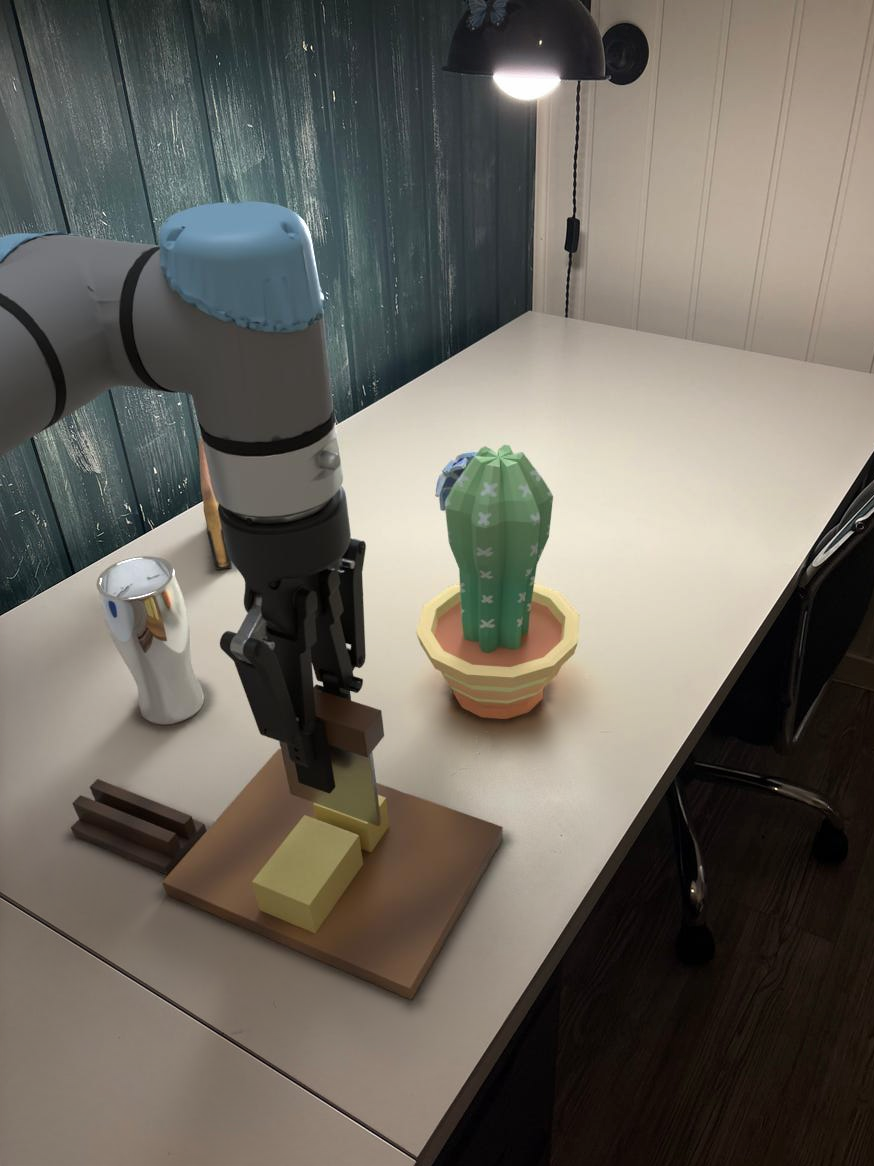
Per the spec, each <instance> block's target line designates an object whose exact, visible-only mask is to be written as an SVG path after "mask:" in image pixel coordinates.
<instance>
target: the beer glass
mask: <svg viewBox="0 0 874 1166" xmlns="http://www.w3.org/2000/svg"><path fill="white" fill-rule="evenodd" d="M96 588H97V591H98V596H99V600H100V604H101V605H100V606H101V609H102V614H103V617H104V621H105V625H106V627H107V631H108V633H109V635H110V639H111V640H112V642H113V643H114V646H115V648H116V650H117V652H118V654H119V655H120V657H121V659H122V660H123V662H124V664H125V665H126V667H127V668H128V671H129V673H130V674H131V676H132V677H133V679H134V681H135V684H136V688H137V693H138V706H139V711H140V714H141V715H142V717H143V718H144V720H146V721H148V722H149V723H151V724H155V725H174V724H178V723H182V722H184V721H186V720H189V719H190V718H192V717H193V716H194V715H195V714H197V713H198V712H199V711H200V710H201V709H202V707H203V706H204V702H205V692H204V689H203V687H202V686H201V684H200V682H199V680H198V678H197V677H196V674H195V671H194V669H193V663H192V647H191V627H190V618H189V614H188V609H187V604H186V601H185V598H184V594H183V591H182V589H181V585H180V583H179V580H178V579H177V575H176V573H175V569H174V566H173V565H172V564H171V563H170V562H169V561H168V560H166V559H163V558H161V557H157V556H135V557H131V558H127V559H123V560H121V561H118V562H115V563H114V564H112V565H110V566H108V567H107V568H106V569H105V570H104V571H102V572H101V574H100V575H99V576H98V578H97V580H96Z"/></svg>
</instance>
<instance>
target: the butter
mask: <svg viewBox="0 0 874 1166" xmlns="http://www.w3.org/2000/svg"><path fill="white" fill-rule="evenodd" d="M362 865H363V859H362V852H361V845H360V839H359V835H356V834H354V833H351V832H348V831H346V830H343V829H340V828H338V827H335V826H332V825H330V824H327V823H324V822H322V821H319V820H316V819H314V818H311V817H308V816H306V815H304V816H303V818H302V819H301V820H300V821H299V823H298V824H297V825H296V826H295V828H294V829H293V830H292V831H291V833H290V834H289V835H288V837H287V838H286V839H285V840H284V842H283V843H282V844H281V845H280V847H279V848H278V849H277V851H276V852H275V853H274V854H273V856H272V857H271V858H270V859H269V861H268V862H267V863H266V864H265V866H264V867H263V868H262V870H261V871H260V872H259V873H258V875H257V876H256V877H255V878H254V880H253V881H252V884H253V887H254V891H255V895H256V899H257V902H258V906H259V910H260V911H263V912H265V913H268V914H270V915H272V916H275V917H277V918H279V919H282V920H284V921H286V922H289V923H291V924H294V925H296V926H298V927H301V928H303V929H305V930H308V931H310V932H312V933H316V932H317V930H318V929H319V927H320V926H321V924H322V923H323V922H324V920H325V919H326V917H327V916H328V914H329V913H330V911H331V910H332V909H333V907H334V906H335V904H336V903H337V901H338V900H339V898H340V897H341V895H342V894H343V893H344V891H345V890H346V888H347V887H348V885H349V884H350V882H351V881H352V880H353V878H354V877H355V875H356V874H357V872H358V871H359V869H360V868H361V867H362Z"/></svg>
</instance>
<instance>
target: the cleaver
mask: <svg viewBox="0 0 874 1166" xmlns="http://www.w3.org/2000/svg"><path fill="white" fill-rule="evenodd" d="M314 699H315V712H316V720H319V721H322V722H325V727H326V733H327V739H328V745H329V750H330V756H331V762H332V768H333V774H334V780H335V786H336V787H335V788H334V790H333V791H332V792H331V793H330V794H329V793H326V792H323V791H321V790H318V789H315V788H312V787H309V786H307V785H304V784H301V783H299V781H298V777H297V772H296V767H295V762H292V761H291V759H290V757H289V752H288V747H287V743H283V742H281V741H278V742H279V746H280V749H281V752H282V756H283V761H284V766H285V771H286V775H287V780H288V785H289V789H290V794H292V795H294V796H297V797H300V798H303V799H305V800H308V801H311V802H313V803H316V804H319V805H322V806H324V807H327V808H330V809H333V810H335V811H338V812H341V813H344V814H346V815H349V816H352V817H355V818H357V819H360V820H363V821H366V822H368V823H371V824H374V825H377V826H380V824H381V816H380V808H379V801H378V793H377V785H376V783H377V779H376V777H377V776H376V771H375V769H376V768H375V763H374V755H373V751H374V750H375V749H376V748H377V746H378V744H380V742H381V741H382V740H383V738H384V737H385V730H384V720H383V714H382V710H381V709H379V708H376V707H372V706H369V705H368V704H367V705H366V704H363V703H360V702H357V701H354V700H352V699H351V700H348V699H344V698H341V697H338V696H335V695H332V694H329V693H325V692H322V691H319V690H316V689H314Z"/></svg>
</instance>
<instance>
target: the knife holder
mask: <svg viewBox="0 0 874 1166" xmlns="http://www.w3.org/2000/svg"><path fill="white" fill-rule="evenodd" d="M89 789H90V791H91V793H92V797H93V799H92V798H90V797H87V796H85V795H82V794H80V795H79V796H77V798H76V799H75V800H73V802H71V803H72V806H73V808H74V811H75V813H76V815H77V818H78V819H77V820H76V821H75V822H74V823H73V824H72V826H70V830H71V832H72V834H73V836H74V837H78V838H80V839H82V840H85V841H87V842H89V843H92V844H94V845H96V846H99V847H101V848H104V849H106V850H108V851H109V852H112V853H115V854H118V855H119V856H122V857H125V858H127V859H130V860H131V861H133V862H137V863H139V864H141V865H143V866H146V867H149V868H151V869H153V870H156V871H157V872H160V873H163V874H165V875H166V876H168V875H169V874H170V872H171V871H172V870H173V869H174V868H175V867H176V866H177V864H178V863H179V862H180V861H181V860H182V859H183V858H184V856H185V855H186V854H187V853H188V852H189V851H190V850H191V848H192V847H193V846H194V845H195V844H196V843H197V842H198V840H199V839H200V838H201V837H202V836H203V835H204V834H205V832H206V831H207V827H206V825H205V823H204V822H201V821H199V820H196V819H194V817H193V816H192V815H190V814H189V813H188V814H187V813H185V812H184V811H183V812H182V811H180V810H178V809H176V808H173V807H170V806H167V805H165V804H162V803H160V802H157V801H155V800H152V799H149V798H147V797H146V796H142V795H140V794H137V793H134V792H133V791H130V790H127V789H124V788H122V787H119V786H117V785H114V784H113V783H109V782H106V781H105V780H101V779H99V778H97V779H95V780H94V782H93V783H91V784H90V786H89Z"/></svg>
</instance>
